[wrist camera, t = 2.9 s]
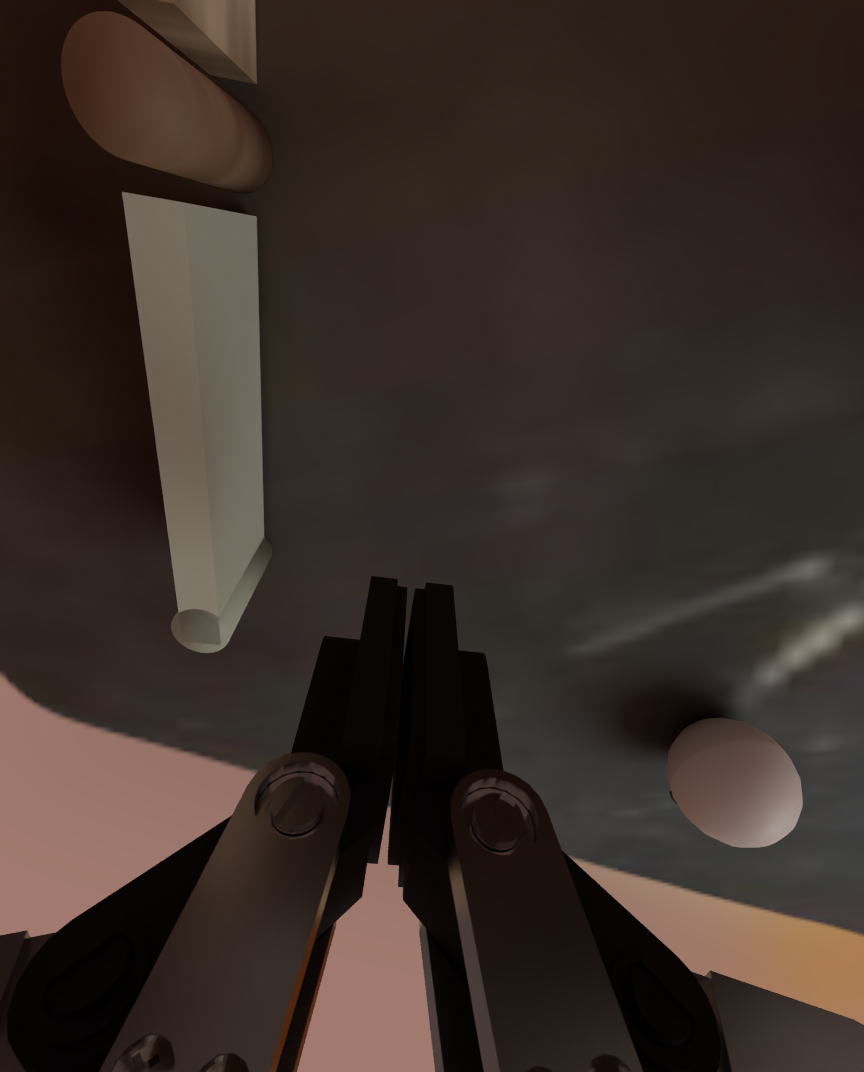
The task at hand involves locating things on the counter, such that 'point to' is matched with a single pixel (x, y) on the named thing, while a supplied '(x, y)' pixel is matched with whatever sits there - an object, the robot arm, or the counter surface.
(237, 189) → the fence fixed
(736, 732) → the pinkish brown egg
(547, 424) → the counter surface
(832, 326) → the counter surface
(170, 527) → the cream flat slab
